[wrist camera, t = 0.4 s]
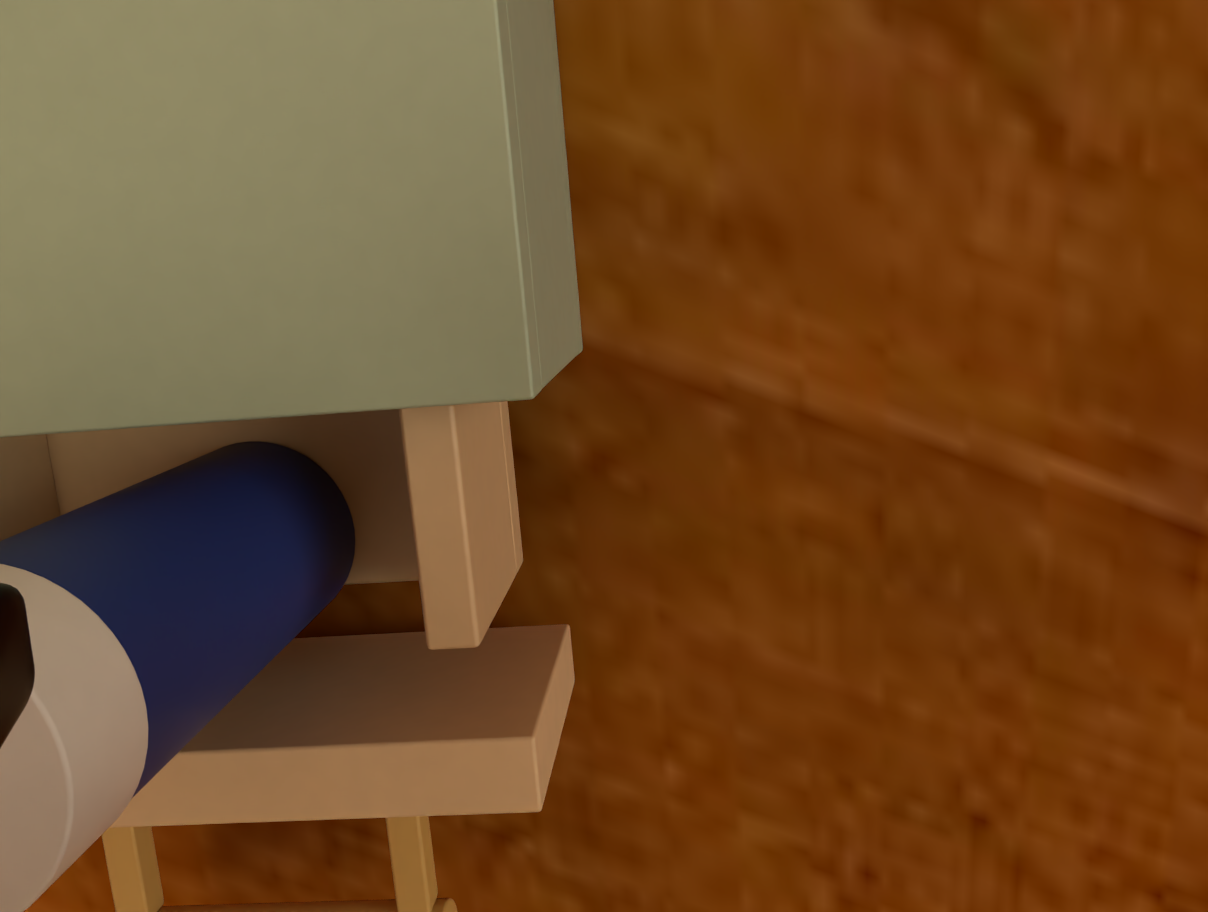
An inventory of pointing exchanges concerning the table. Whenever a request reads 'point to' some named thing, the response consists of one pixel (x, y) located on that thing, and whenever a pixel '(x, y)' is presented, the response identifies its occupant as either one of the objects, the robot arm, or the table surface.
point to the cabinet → (278, 209)
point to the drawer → (349, 647)
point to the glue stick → (153, 634)
